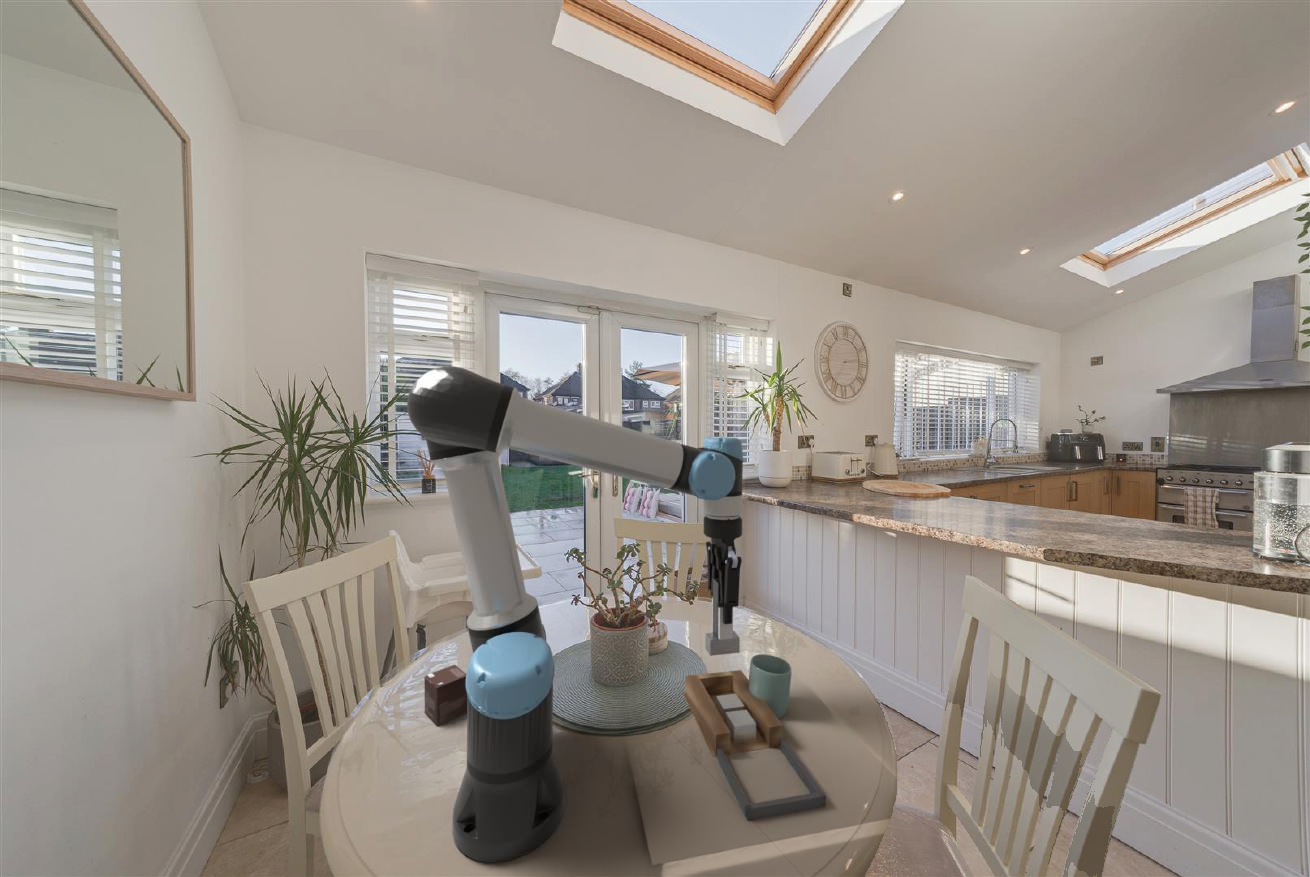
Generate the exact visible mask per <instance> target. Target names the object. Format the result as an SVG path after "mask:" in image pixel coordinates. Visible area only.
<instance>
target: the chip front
mask: <svg viewBox="0 0 1310 877" xmlns="http://www.w3.org/2000/svg"><path fill="white" fill-rule="evenodd" d="M726 726H727V728H728V729H729V731H730V738H731V740H732V741H733V743H734V744H738V743H745V742H752V741H756V723H755V721H754V720H753V718H752V717H751V716H750V714H749V713H748V711H747V710H740V711H732V712H726Z"/></svg>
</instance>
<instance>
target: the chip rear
mask: <svg viewBox="0 0 1310 877" xmlns="http://www.w3.org/2000/svg"><path fill="white" fill-rule="evenodd" d="M716 708H717V710H718V712H719V713H720V715H721V717H722V719H723V721H724V722H725V724H726V712H732V711H740V710H744V705H743V704H742V702H741V701H740V699H739V698H738V696H737V695H736V694H730V695H721V696H716Z"/></svg>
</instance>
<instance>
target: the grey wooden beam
mask: <svg viewBox="0 0 1310 877" xmlns="http://www.w3.org/2000/svg"><path fill="white" fill-rule="evenodd" d="M712 598H713V631H712V632H706V633H705V638H704V639H705V641H704V642H705V644H704V645H705V647H704V648H705V650H706V652H708V655H709V656H710V657H712V656H720V655H729V654H740V653H741V652H740V647H741V646H740V642H741V641H740V640H741V639H740V638H741V637H740V636H739V635H738V634H737V633H736V631H734V630H733V639H724V640H719V638H718V607H717V603H721V602H720V580H719V578H713V597H712Z"/></svg>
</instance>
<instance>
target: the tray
mask: <svg viewBox="0 0 1310 877" xmlns="http://www.w3.org/2000/svg"><path fill="white" fill-rule="evenodd" d="M779 750H780V751H781V753H782V754H783V756H784V757H785V758H786V760H787V761H788V763H789V764H790V766H791V767H792V768H793V770H794V772H795V773H796V775H797V776H798V777H799V778H800V780H801V782H802V783H803V784H804V786H805V787H806V789H807V790H808V791H809V792H808V793H805V794H800V795H795V796H794V795H793V796H788V797H783V798H782V797H781V798H776V799H771V800H766V801H760V802H755V803H750V801H749V799H748V797H747V795H746V793H745V791H744V789H743V787H742V785H741V783H740V781H739V780H738V778H737V776H736V774H735V771H734V769H733V768H732V766H731V764H730V762H729V760H728V758H727V756H726V755H725V754H724V752H723V750H722V748H719V749H717V756H716V759H717V761H718V763H719V766H720V767H721V770H722V772H723V774H724V776H725V778H726V780H727V782H728V784H729V786H730V788H731V790H732V793H733V795H734V796H735V799H736V801H737V802H738V805H739V807H740V809H741V811H742V813H743V816H744V817H745V820H746V821H747V822H748V821H754V820H755V821H756V820H759V819H765V818H769V817H775V816H776V817H777V816H780V815H787V814H791V813H792V814H793V813H798V812H803V811H809V810H814V809H820V808H824V807H826V806H827V805H826V801H827V798H826V797H827V796H826V794H825V793H824V791H823V790H822V789H821V787H820V785H818V783H817V781H816V780H815V779H814V777H813V776H812V775H811V773H810V772H809V770H808V769H807V768H806V767H805V765H804V764H803V763H802V761H801V760H800V759H799V757H798V756H797V754H796V753H795V752H794V750H793V749H792V747H791V746H790V744H788V741H786V739H785V738H783V739H781V740H780V747H779Z"/></svg>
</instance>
